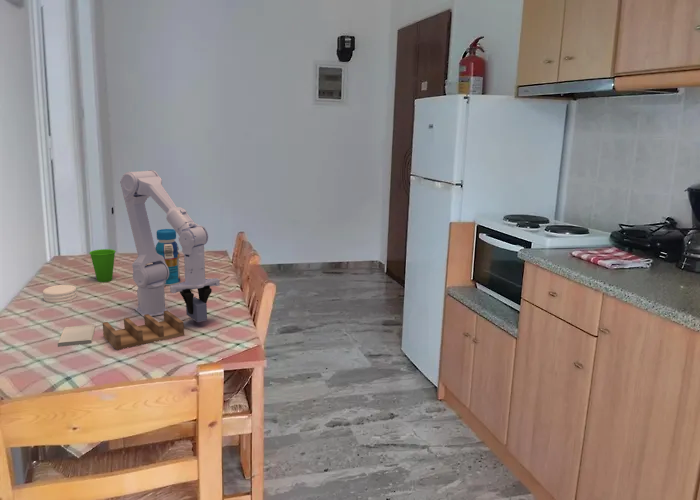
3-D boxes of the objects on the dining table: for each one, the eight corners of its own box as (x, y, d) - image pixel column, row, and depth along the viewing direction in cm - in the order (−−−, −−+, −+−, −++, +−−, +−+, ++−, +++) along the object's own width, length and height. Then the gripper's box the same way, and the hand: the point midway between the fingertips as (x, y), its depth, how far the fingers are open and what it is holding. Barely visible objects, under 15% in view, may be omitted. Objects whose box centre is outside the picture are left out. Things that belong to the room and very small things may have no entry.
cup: (117, 282, 207) (115, 253, 204) (90, 284, 203) (88, 255, 201) (117, 276, 215) (115, 248, 212) (92, 278, 211) (89, 249, 209)
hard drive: (91, 339, 150) (95, 324, 161) (57, 342, 147) (63, 326, 158) (91, 345, 150) (95, 329, 162) (57, 348, 147) (64, 332, 159)
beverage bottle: (152, 285, 204) (149, 231, 200) (164, 279, 212) (162, 227, 208) (172, 287, 202) (170, 233, 198) (185, 281, 210) (182, 229, 206)
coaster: (63, 304, 182) (62, 294, 181) (36, 301, 184) (35, 291, 183) (83, 295, 191) (82, 285, 190) (57, 293, 193) (57, 283, 192)
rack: (103, 336, 155) (102, 322, 154) (168, 323, 166) (167, 310, 165) (116, 350, 146) (115, 335, 145) (184, 335, 157) (183, 321, 156)
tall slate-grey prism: (186, 314, 168) (185, 298, 167) (195, 312, 170) (195, 297, 169) (197, 322, 162) (196, 305, 161) (207, 320, 164) (206, 303, 163)
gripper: (175, 274, 155) (177, 320, 158) (223, 267, 164) (224, 311, 167) (166, 269, 161) (168, 313, 164) (213, 262, 170) (214, 305, 173)
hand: (196, 312), depth 166 cm, fingers closed on tall slate-grey prism, 3 cm apart
